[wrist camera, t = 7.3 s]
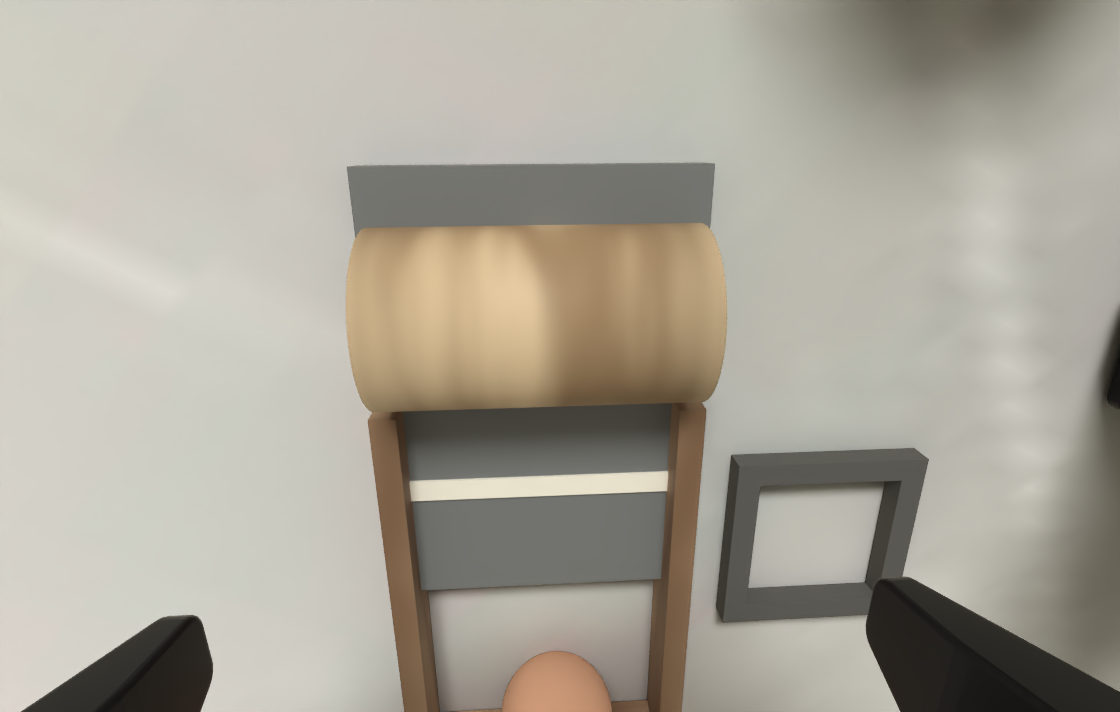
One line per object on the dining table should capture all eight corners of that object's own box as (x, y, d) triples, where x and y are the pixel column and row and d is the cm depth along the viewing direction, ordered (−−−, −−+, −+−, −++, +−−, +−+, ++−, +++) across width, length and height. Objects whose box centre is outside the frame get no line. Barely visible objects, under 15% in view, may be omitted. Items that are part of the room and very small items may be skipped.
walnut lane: (700, 384, 20) (730, 424, 17) (674, 719, 25) (693, 793, 22) (370, 394, 19) (343, 437, 16) (412, 736, 24) (397, 814, 21)
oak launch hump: (680, 213, 18) (735, 236, 14) (670, 365, 20) (717, 433, 15) (384, 217, 18) (334, 242, 13) (400, 373, 19) (361, 445, 15)
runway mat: (704, 162, 17) (715, 163, 16) (676, 559, 22) (683, 579, 21) (356, 165, 17) (345, 166, 16) (403, 572, 21) (397, 593, 20)
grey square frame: (914, 448, 21) (928, 459, 20) (881, 598, 23) (893, 613, 22) (731, 454, 21) (739, 466, 20) (716, 606, 23) (722, 622, 22)
